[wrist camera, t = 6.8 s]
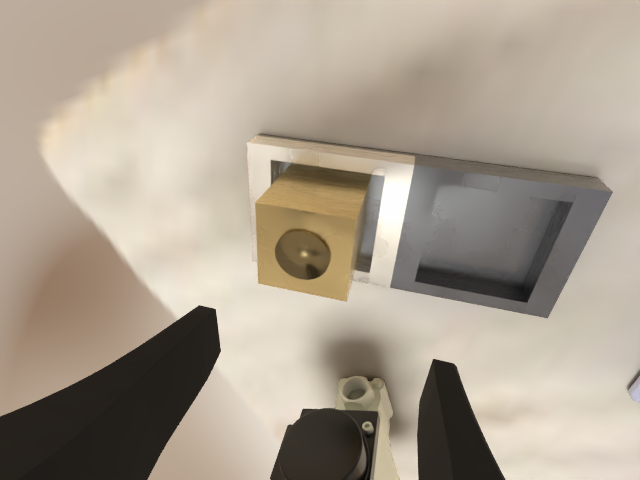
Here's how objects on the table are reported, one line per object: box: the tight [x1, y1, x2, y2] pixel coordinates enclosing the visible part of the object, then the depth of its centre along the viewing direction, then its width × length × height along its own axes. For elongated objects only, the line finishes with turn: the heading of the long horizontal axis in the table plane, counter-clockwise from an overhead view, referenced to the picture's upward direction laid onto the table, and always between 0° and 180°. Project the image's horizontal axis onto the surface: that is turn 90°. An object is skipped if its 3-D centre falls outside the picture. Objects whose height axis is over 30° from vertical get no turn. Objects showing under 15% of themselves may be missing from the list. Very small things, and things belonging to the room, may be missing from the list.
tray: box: [247, 134, 612, 318], centre depth 19 cm, size 16×7×2 cm, turn 88°
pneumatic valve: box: [270, 376, 400, 480], centre depth 23 cm, size 6×12×12 cm, turn 18°
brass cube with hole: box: [255, 163, 372, 301], centre depth 18 cm, size 4×4×5 cm
